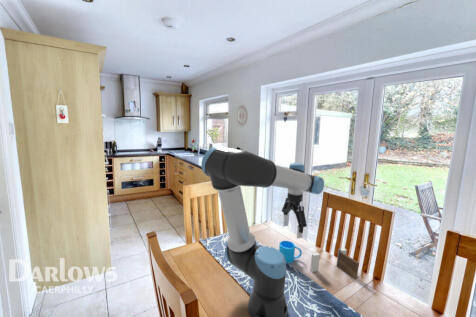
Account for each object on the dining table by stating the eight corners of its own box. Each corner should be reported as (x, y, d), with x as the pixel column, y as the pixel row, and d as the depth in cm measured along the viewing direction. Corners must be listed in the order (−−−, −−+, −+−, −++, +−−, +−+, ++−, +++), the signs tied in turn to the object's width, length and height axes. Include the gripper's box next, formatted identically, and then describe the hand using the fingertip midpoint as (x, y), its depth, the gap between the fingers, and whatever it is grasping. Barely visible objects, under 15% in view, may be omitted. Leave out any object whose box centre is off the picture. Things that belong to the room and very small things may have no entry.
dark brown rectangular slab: (341, 265, 115) (343, 251, 114) (358, 277, 107) (360, 262, 106) (338, 267, 114) (340, 252, 113) (355, 278, 106) (357, 263, 105)
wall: (344, 265, 116) (346, 249, 114) (312, 272, 110) (314, 254, 108) (342, 264, 117) (344, 247, 116) (310, 270, 111) (312, 252, 110)
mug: (279, 262, 117) (280, 248, 116) (278, 253, 125) (279, 240, 124) (302, 264, 116) (303, 250, 114) (299, 255, 124) (301, 242, 122)
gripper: (316, 200, 104) (312, 242, 107) (288, 185, 127) (286, 220, 131) (302, 202, 102) (299, 244, 105) (277, 186, 125) (275, 222, 128)
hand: (292, 231), depth 118 cm, fingers open, 13 cm apart
